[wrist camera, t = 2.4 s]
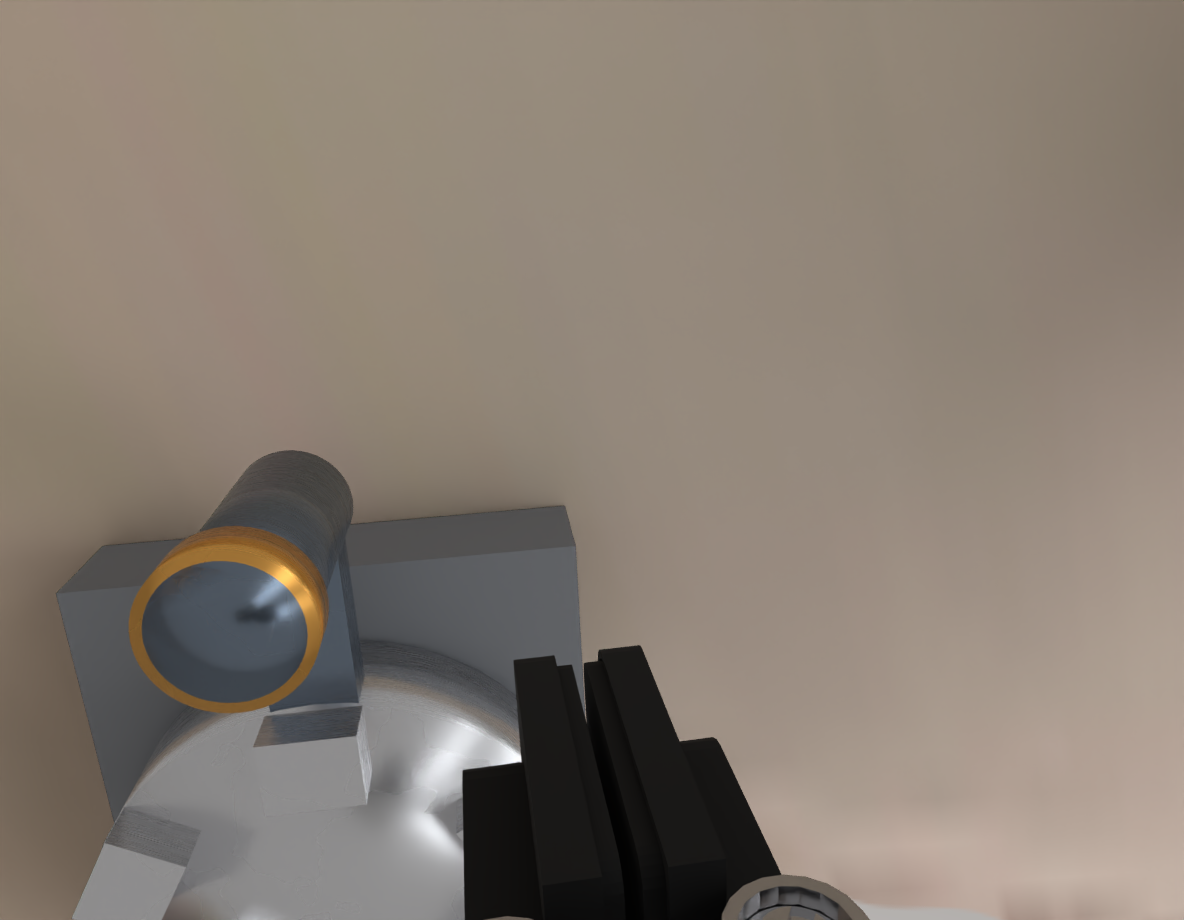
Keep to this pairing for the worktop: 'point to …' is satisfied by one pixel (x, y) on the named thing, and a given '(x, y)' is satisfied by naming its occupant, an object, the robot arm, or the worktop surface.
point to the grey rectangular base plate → (383, 610)
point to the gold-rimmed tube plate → (292, 730)
